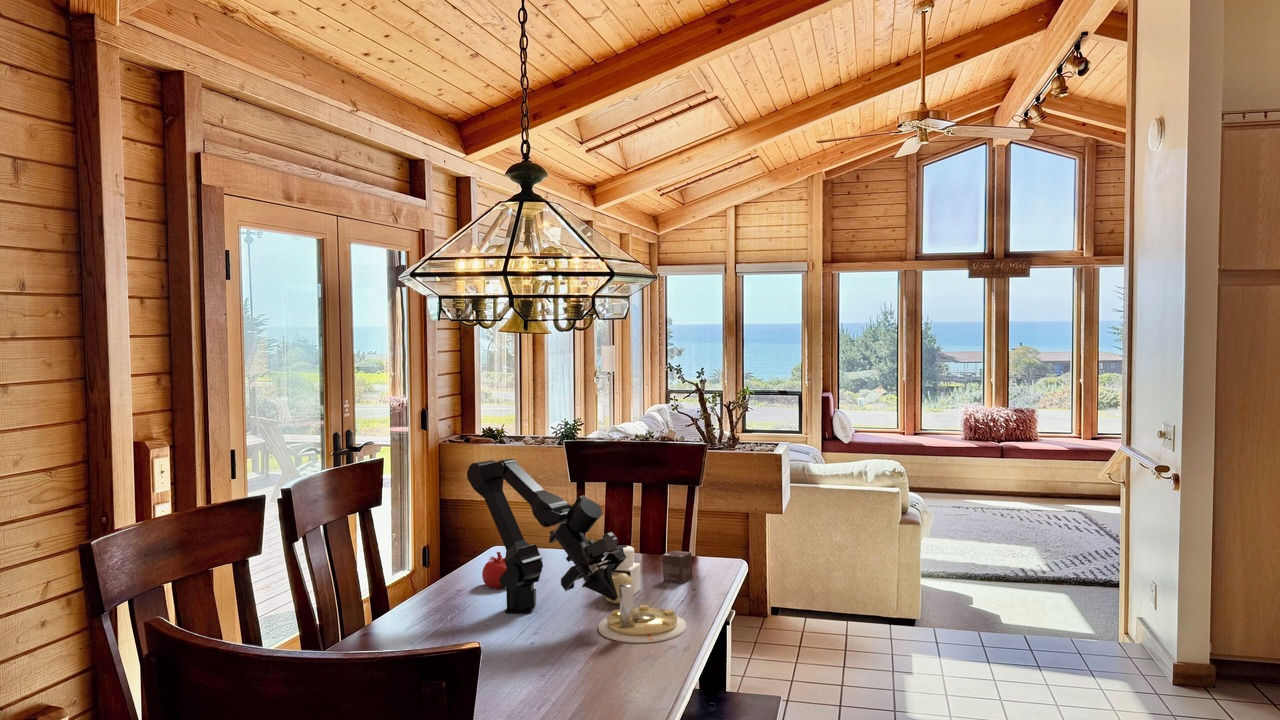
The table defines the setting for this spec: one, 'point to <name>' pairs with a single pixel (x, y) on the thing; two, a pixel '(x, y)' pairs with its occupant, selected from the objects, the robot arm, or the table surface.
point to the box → (677, 566)
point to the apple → (618, 580)
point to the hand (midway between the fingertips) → (616, 599)
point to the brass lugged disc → (639, 617)
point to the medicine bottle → (629, 566)
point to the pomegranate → (494, 571)
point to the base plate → (642, 639)
